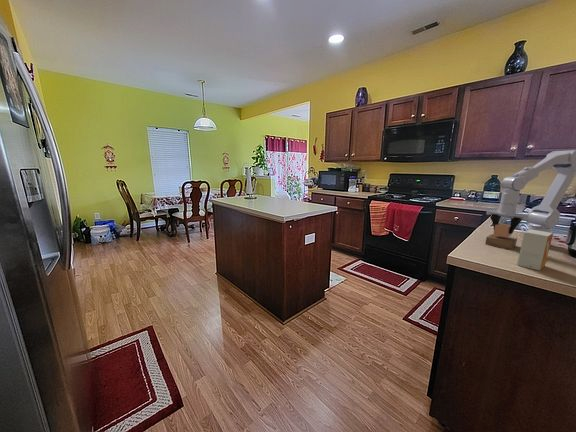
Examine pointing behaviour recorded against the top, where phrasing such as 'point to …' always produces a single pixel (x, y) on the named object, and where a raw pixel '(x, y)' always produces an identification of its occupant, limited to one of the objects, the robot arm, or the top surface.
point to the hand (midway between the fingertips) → (502, 231)
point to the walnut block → (501, 241)
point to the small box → (534, 249)
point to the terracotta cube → (502, 230)
